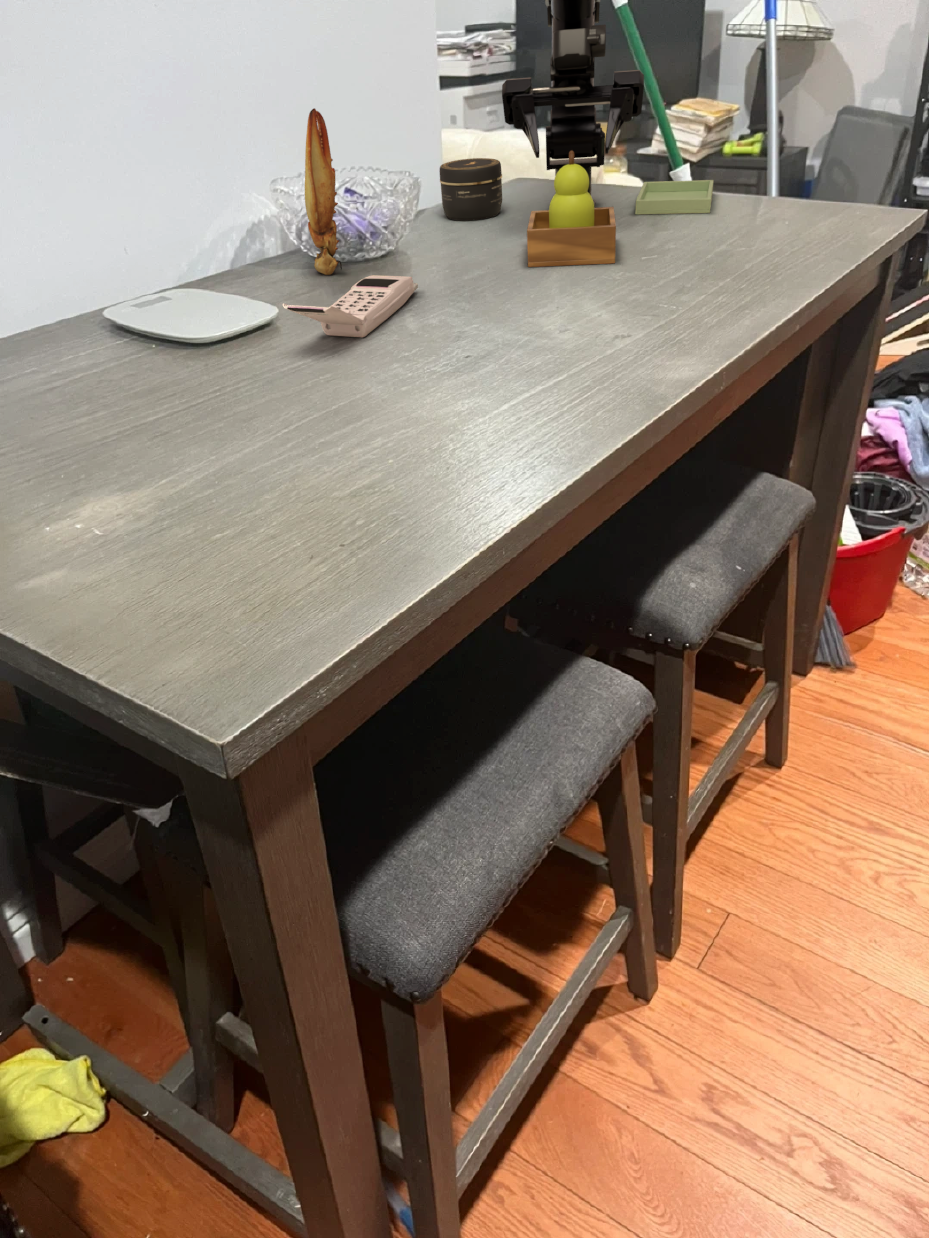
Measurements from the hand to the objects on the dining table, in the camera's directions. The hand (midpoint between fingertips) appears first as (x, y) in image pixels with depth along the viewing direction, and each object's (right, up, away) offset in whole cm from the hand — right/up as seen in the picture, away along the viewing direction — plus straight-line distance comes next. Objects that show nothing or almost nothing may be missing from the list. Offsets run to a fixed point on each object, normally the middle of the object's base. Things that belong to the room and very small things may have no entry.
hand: (572, 154), depth 121 cm
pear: (0, -12, +2) cm, 12 cm away
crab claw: (-33, -16, +3) cm, 37 cm away
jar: (-13, +4, +27) cm, 30 cm away
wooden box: (0, -12, +3) cm, 13 cm away
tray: (+19, +4, +23) cm, 30 cm away
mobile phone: (-26, -28, -16) cm, 42 cm away
